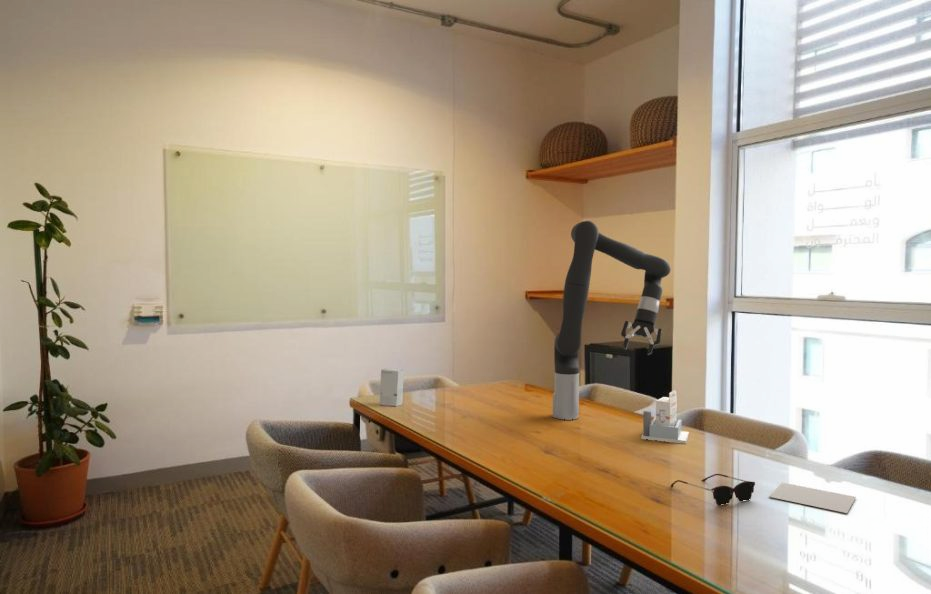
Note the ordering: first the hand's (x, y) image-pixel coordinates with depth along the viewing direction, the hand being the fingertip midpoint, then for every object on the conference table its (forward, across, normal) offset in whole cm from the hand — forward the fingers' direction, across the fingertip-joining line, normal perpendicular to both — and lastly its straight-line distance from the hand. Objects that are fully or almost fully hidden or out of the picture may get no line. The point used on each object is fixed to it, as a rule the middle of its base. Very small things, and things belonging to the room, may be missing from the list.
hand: (636, 351), depth 235 cm
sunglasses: (+39, +35, -64) cm, 83 cm away
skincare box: (+47, -90, -5) cm, 102 cm away
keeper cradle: (+28, +18, -12) cm, 35 cm away
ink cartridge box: (+27, +18, -12) cm, 34 cm away
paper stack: (+31, +63, -55) cm, 89 cm away
